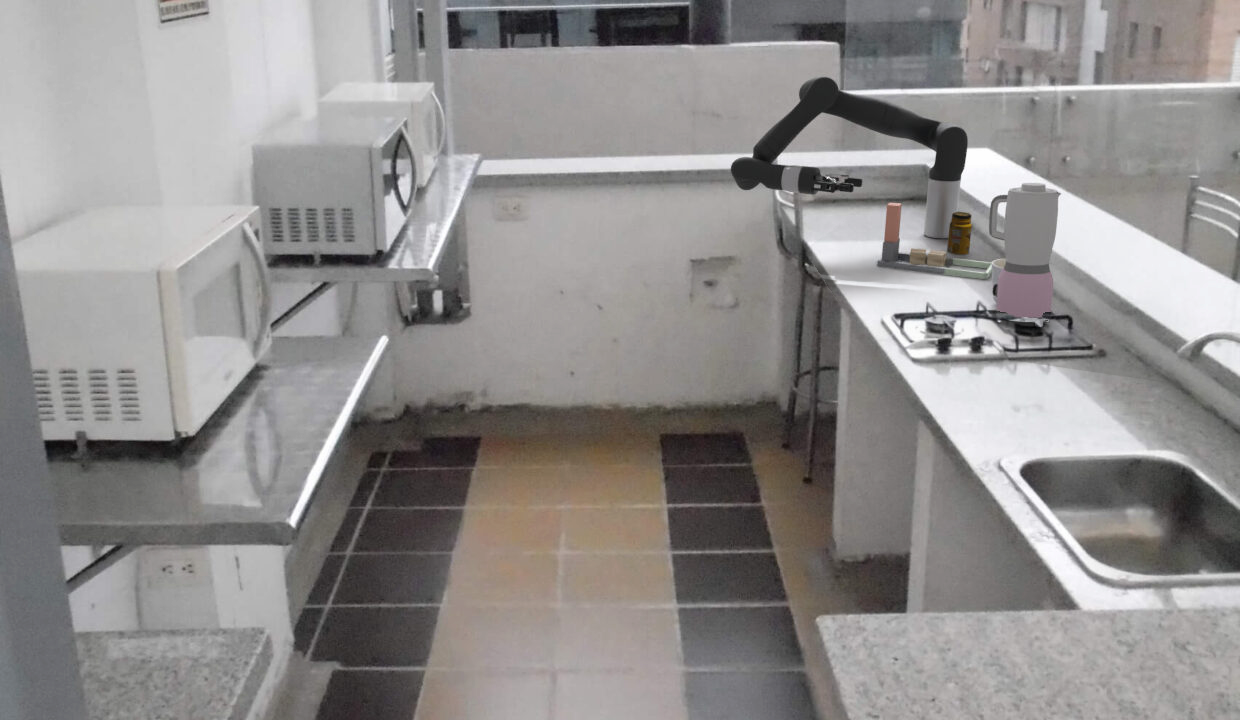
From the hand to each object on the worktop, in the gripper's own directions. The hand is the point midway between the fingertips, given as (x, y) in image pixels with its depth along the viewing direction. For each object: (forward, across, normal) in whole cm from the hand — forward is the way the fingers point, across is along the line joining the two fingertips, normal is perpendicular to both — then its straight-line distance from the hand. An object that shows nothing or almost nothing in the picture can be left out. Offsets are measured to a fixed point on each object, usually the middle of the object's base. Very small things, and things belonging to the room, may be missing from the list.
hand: (857, 185), depth 324 cm
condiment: (+25, +17, +20) cm, 37 cm away
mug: (+48, -25, +20) cm, 58 cm away
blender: (+50, -39, +20) cm, 67 cm away
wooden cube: (+19, -2, +19) cm, 27 cm away
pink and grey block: (+11, -2, +20) cm, 23 cm away
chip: (+24, -2, +19) cm, 31 cm away
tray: (+33, -2, +20) cm, 38 cm away
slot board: (+18, -2, +20) cm, 27 cm away
